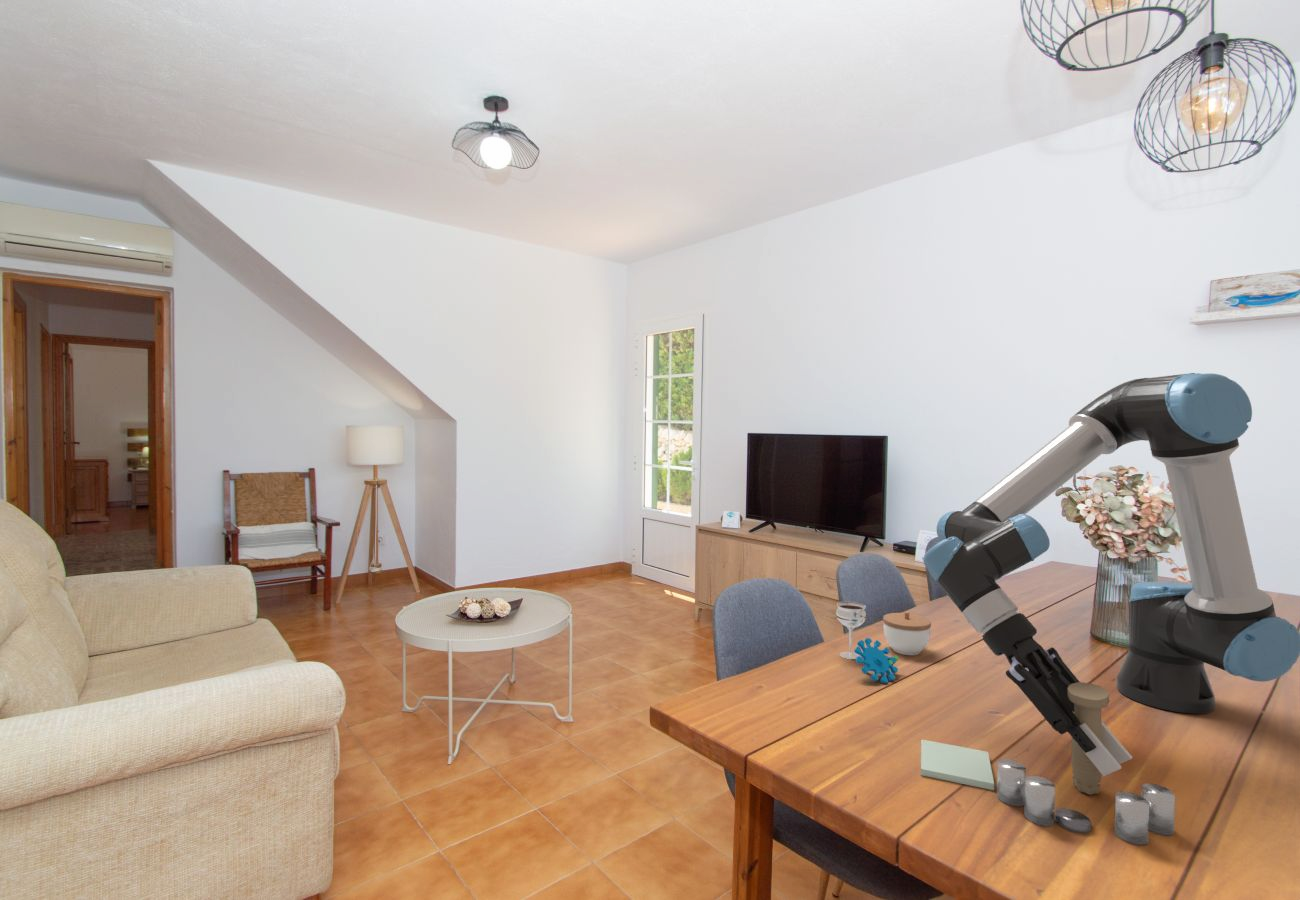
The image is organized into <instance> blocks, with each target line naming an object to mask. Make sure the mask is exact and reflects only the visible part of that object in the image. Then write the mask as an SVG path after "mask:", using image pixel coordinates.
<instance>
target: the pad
mask: <svg viewBox="0 0 1300 900" xmlns="http://www.w3.org/2000/svg"><path fill="white" fill-rule="evenodd" d="M920 741H921V742H920V776H923V777H928V778H932V779H938V780H942V781H946V782H947V781H948V782H952V783H957V784H962V785H965V786H966V785H967V786H970V787H971V786H972V787H976V788H981V789H986V790H990V791H995V781H994V775H993V770H992V765H991V761H990V755H989V752H988V751H986V750H981V749H974V748H970V747H964V746H959V745H953V744H948V743H943V742H937V741H933V740H925V739H921V740H920Z"/></svg>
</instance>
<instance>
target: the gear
mask: <svg viewBox="0 0 1300 900" xmlns="http://www.w3.org/2000/svg"><path fill="white" fill-rule="evenodd" d="M872 642H873V640H872V638H870V637H865V639H863V640H862V639H861V640H859V641H857V643H856V644H857V646H856V648H854V650H853V653H856V654H859V655H860V656H861V657H860V656H858V657H857V658H856V660H855V662H856V664H859V665H860V664H863V665H864V666H863V667H861V672H862V673H863V674H865V675H866V674H868V673H869V672H873V674H872V675H870V679H871V680H872V681H873V682H877V681H878V680H879V674H880V676H881V678H880V683H882V684H887V683H889V682H890V681H891V682H892V681H894V680H895V679H896V676H895V674H896V673H897V672H898V671H899V668H898V667H897V666H894V665H895V664H896V662H898V661H899V660H900V658H899V656H898V655H894V656H889V654H890V652H891V650H890V649H889V648H888V647H887V646H885V647H884V648H883V649H879V647H881V646H882V643H881V642H880V641H879V640H878V639H877V640H875V641H874V642H873V646H872V645H871V644H872ZM865 644H866V646H865ZM886 674H887V675H886Z"/></svg>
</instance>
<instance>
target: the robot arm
mask: <svg viewBox="0 0 1300 900" xmlns="http://www.w3.org/2000/svg"><path fill="white" fill-rule="evenodd" d="M1252 418H1253V409H1252V404H1251V400H1250V397H1249V396H1248V394H1247V392H1246V391H1245V389H1244V388H1243V387H1242V386H1241V385H1240V384H1239V383H1237V381H1235V380H1232V379H1230V378H1228V377H1227V376H1225V375H1223V374H1219V373H1218V374H1217V373H1210V372H1209V373H1199V372H1198V373H1195V372H1190V373H1181V374H1172V375H1164V376H1157V377H1144V378H1142V377H1141V378H1135V379H1131V380H1129V381H1126V382H1123V383H1120V384H1119V385H1116V386H1115V387H1112V388H1111V389H1109V390H1107V391H1106V392H1104V393H1102V394H1101V395H1099V396H1098V397H1096V398H1095V399H1094V400H1092V401H1091V402H1090V403H1088V404H1086V405H1085V406H1084V407H1083V408H1081V409H1080V410H1079V411H1077V412H1076V413H1075V414H1074V415H1073V416H1071V417H1070V419H1069V421H1068V427H1066V428H1065V429H1064V430H1062V431H1061V432H1060V433H1059V434H1058V435H1056V436H1055V437H1053V438H1052V439H1051V440H1050V441H1048V443H1045V445H1043V446H1042V447H1040V449H1038V450H1037V451H1036V452H1035V453H1033V455H1031V456H1029V458H1027V459H1026V460H1025V461H1024V462H1022V463H1021V464H1020V465H1019V466H1017V467H1016V468H1015V469H1014V470H1012V471H1011V472H1009V474H1007V475H1005V477H1004V478H1002V479H1000V481H999V482H997V483H996V484H995V485H994V486H992V487H991V488H990V489H988V490H987V491H986V492H984V493H983V494H981V496H980V497H978V498H977V499H976V500H974V502H972V503H971V504H969V505H968V506H967V507H965V508H963V510H962V511H961V510H955V511H949V512H946V513H944V514H943V515H942V516H941V517H940V518H939V520H938V521H937V524H936V534H937V537H938V539H939V541H938V542H937V543H936V544H934V545H933V546H932V547H930V548H929V549H928V550H927V551H926V553H925V554H924V555H923V559H922V561H923V564H924V566H925V567H926V569H927V571H928V572H929V573H930V575H931V577H932V578H933V579H934V581H935V583H937V584H938V585H939V586H940V588H941V589H942V590H943V591H944V593H946V595H947V597H949V599H950V600H951V601H952V602H953V604H954V605H955V606H956V607H957V608H958V609H959V611H960V612H961V613H962V614H963V616H964V617H965V618H966V620H967V621H966V622H967V623H968V624H970V625H971V626H972V627H973V629H975V631H976V632H977V633H978V634H983V635H981V637H982V638H981V639H982V641H983V642H984V643H985V645H986V646H987V647H988V648H989V649H990V651H992V653H993V654H994V656H996V657H997V656H998V657H999V656H1002V655H1004V656H1005V658H1006V659H1007V661H1008V663H1009V665H1010V668H1008V669H1007V670H1006V671H1005V675H1006V676H1007V678H1008V679H1010V680H1011V681H1012V682H1013V683H1014V684H1016V685H1017V687H1019V689H1020V690H1021V691H1022V693H1023V694H1024V695H1025V696H1026V697H1027V698H1028V700H1029V701H1030V702H1031V703H1032V704H1033V706H1034V707H1035V708H1036V709H1037V711H1038V712H1039V713H1040V714H1041V716H1042V717H1044V719H1045V720H1046V721H1047V723H1048V724H1049V725H1050V726H1051V728H1052V729H1053V730H1054V731H1055V732H1058V733H1059V734H1060V735H1064V734H1066V733H1068V734H1069V735H1070V736H1071V739H1072V738H1073V739H1074V740H1075V741H1076V743H1077V744H1078V745H1079V746H1080V748H1081V749H1082V750H1083V751H1084V753H1085V754H1086V755H1087V756H1088V758H1089V759H1090V760H1091V761H1092V763H1093V764H1094V765H1095V766H1096V768H1097V769H1098V770H1099V771H1100V773H1101V774H1102V777H1105V776H1108V775H1110V774H1112V773H1115V772H1117V771H1119V770H1121V769H1122V766H1121V764H1123V763H1125V762H1128V761H1130V760H1132V759H1133V756H1132V755H1131V753H1129V751H1128V750H1127V749H1126V748H1125V746H1124V745H1123V744H1122V743H1121V742H1120V740H1119V739H1118V738H1117V737H1116V736H1115V735H1114V733H1113V732H1112V731H1111V730H1110V729H1109V727H1108V726H1107V725H1106V724H1105V723H1104V721H1102V720H1103V719H1101V721H1102V741H1103V744H1102V743H1101V741H1100V740H1099V739H1098V738H1097V737H1096V735H1095V734H1094V733H1093V732H1092V731H1091V729H1090V728H1089V727H1088V726H1087V725H1086V723H1083V724H1080V721H1079V720H1078V718H1077V717H1076V716H1075V714H1074V703H1073V702H1071V701H1070V700H1069V698H1068V695H1067V690H1068V686H1069V685H1070V684H1073V683H1077V682H1080V680H1079V679H1078V678H1077V677H1076V675H1075V674H1074V673H1073V672H1072V671H1071V669H1070V668H1069V667H1068V665H1066V663H1065V662H1064V661H1063V659H1062V657H1061V656H1060V654H1059V653H1058V651H1057V649H1055V648H1054V647H1049V648H1048V649H1044V648H1043V646H1042V645H1041V644H1040V643H1038V642H1037V641H1036V640H1035V639H1034V637H1035V636H1036V634H1037V633H1038V631H1037V628H1036V627H1035V626H1034V625H1033V624H1032V622H1031V621H1030V620H1029V619H1028V618H1027V616H1025V614H1024V613H1021V612H1018V610H1019V607H1018V606H1017V605H1016V603H1015V602H1014V601H1013V600H1012V599H1011V598H1010V597H1009V595H1008V594H1007V593H1006V592H1005V591H1004V590H1003V588H1002V587H1001V586H1000V585H999V584H998V583H997V582H996V581H998V580H1000V579H1001V578H1003V577H1005V576H1006V575H1009V574H1010V573H1011V572H1014V571H1016V570H1017V569H1019V568H1021V567H1023V566H1025V565H1027V564H1029V563H1030V562H1034V561H1035V559H1037V558H1038V557H1039V556H1042V555H1043V554H1044V553H1046V552H1047V551H1048V550H1049V548H1050V537H1049V535H1048V533H1047V531H1046V530H1045V528H1044V527H1043V526H1042V524H1041V523H1040V522H1039V521H1038V520H1036V519H1035V518H1034V517H1032V516H1031V515H1028V513H1029V512H1030V511H1032V509H1035V507H1037V505H1039V504H1040V503H1041V502H1043V501H1044V500H1046V499H1047V497H1049V496H1050V495H1052V494H1053V493H1054V492H1056V491H1057V490H1059V488H1060V487H1062V486H1063V485H1065V484H1066V482H1068V481H1069V480H1070V479H1072V478H1073V477H1075V476H1076V475H1077V474H1078V473H1080V472H1081V471H1082V470H1083V469H1085V468H1086V467H1087V466H1089V465H1090V464H1091V463H1092V462H1094V461H1095V460H1096V459H1097V458H1098V457H1100V456H1101V455H1110V454H1112V453H1115V452H1116V451H1117V450H1118V449H1119V448H1121V447H1122V446H1124V445H1127V444H1129V443H1134V442H1139V441H1145V442H1146V441H1148V443H1149V449H1150V453H1151V457H1152V458H1154V459H1156V460H1157V461H1160V462H1161V463H1163V464H1164V466H1165V470H1166V474H1167V475H1166V476H1167V479H1168V484H1169V487H1170V493H1171V496H1172V502H1173V506H1174V510H1175V511H1174V512H1175V515H1176V520H1177V524H1178V529H1179V533H1180V537H1181V541H1182V547H1183V551H1184V555H1185V561H1186V565H1187V570H1188V573H1189V578H1190V579H1189V580H1190V582H1191V583H1185V582H1172V581H1171V582H1170V581H1140V582H1135V583H1134V584H1133V585H1132V586H1131V589H1130V595H1129V596H1130V598H1129V600H1128V603H1129V604H1128V605H1129V606H1128V620H1129V621H1128V652H1127V654H1126V657H1125V659H1124V661H1123V663H1122V666H1121V667H1120V670H1119V672H1118V673H1117V676H1116V677H1117V678H1116V689H1117V691H1119V692H1120V694H1122V695H1124V696H1125V697H1126V698H1129V699H1131V700H1133V701H1136V702H1138V703H1141V704H1142V705H1146V706H1150V707H1153V708H1157V709H1162V710H1166V711H1171V712H1177V713H1185V714H1196V715H1197V714H1207V713H1211V712H1213V711H1214V710H1215V706H1216V704H1215V703H1216V702H1215V701H1216V697H1215V694H1214V691H1213V688H1212V686H1211V683H1210V679H1209V677H1208V675H1207V671H1206V668H1205V664H1207V665H1210V666H1213V667H1214V668H1217V669H1220V670H1223V671H1225V672H1227V673H1228V674H1230V675H1232V676H1234V677H1240V678H1244V679H1246V680H1249V681H1254V682H1270V681H1274V680H1276V679H1278V678H1280V677H1283V676H1284V675H1286V673H1287V672H1289V671H1290V670H1291V669H1292V667H1293V666H1294V665H1295V664H1296V663H1297V661H1298V659H1299V657H1300V632H1299V630H1298V628H1297V627H1296V626H1295V625H1294V624H1293V623H1291V622H1290V621H1288V620H1287V619H1285V618H1282V617H1279V616H1277V614H1276V610H1275V604H1274V601H1273V599H1272V596H1271V595H1270V594H1269V593H1266V592H1264V591H1263V590H1261V589H1260V588H1259V587H1258V583H1257V578H1256V574H1255V569H1254V565H1253V561H1252V556H1251V551H1250V546H1249V542H1248V537H1247V532H1246V527H1245V523H1244V518H1243V514H1242V510H1241V506H1240V500H1239V495H1238V491H1237V487H1236V482H1235V478H1234V473H1233V468H1232V464H1231V458H1230V457H1231V455H1232V454H1233V453H1234V452H1235V451H1237V449H1238V448H1239V447H1240V444H1239V443H1240V442H1239V438H1240V437H1242V436H1243V435H1244V434H1245V433H1246V431H1247V430H1248V429H1249V424H1248V423H1250V422H1251V421H1252Z"/></svg>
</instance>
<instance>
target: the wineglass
mask: <svg viewBox="0 0 1300 900" xmlns="http://www.w3.org/2000/svg"><path fill="white" fill-rule="evenodd" d="M836 606H837V609H836V611H835V616H836V618H837V621H838V622H839V623H840V624H841V625H843V626H844V627H846V628H847V630H848V634H849V635H848V636H849V637H848V640H849V641H848V642H849V643H848V645H849V646H848V647H849V651H843V652H839V656H840V657H841V658H843V659H845V658H846V660H851V659H856V658H857V657H858V656H860V655H859V654H856V653H855V652H854V651H852V647H853V645H852V644H853V630H855V628H858V627H860V626H861V625H863V624H864V622H865V621H866V617H867V613H866V611H865V610H866V609H867V606H866V605H865V604H863V603H861V602H856V601H840V602H837V603H836ZM860 657H861V656H860ZM861 658H862V657H861Z"/></svg>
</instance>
